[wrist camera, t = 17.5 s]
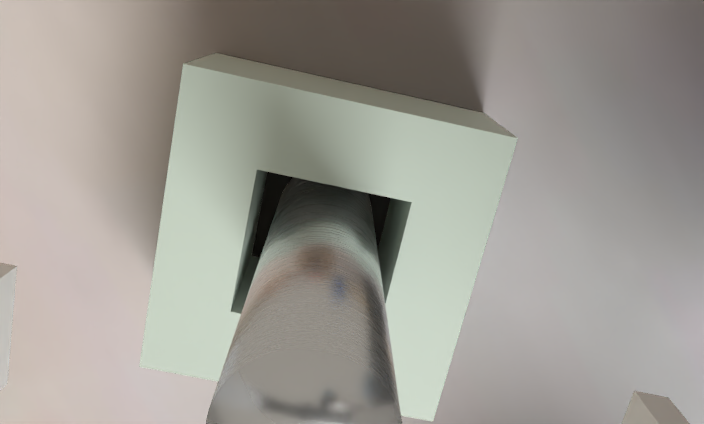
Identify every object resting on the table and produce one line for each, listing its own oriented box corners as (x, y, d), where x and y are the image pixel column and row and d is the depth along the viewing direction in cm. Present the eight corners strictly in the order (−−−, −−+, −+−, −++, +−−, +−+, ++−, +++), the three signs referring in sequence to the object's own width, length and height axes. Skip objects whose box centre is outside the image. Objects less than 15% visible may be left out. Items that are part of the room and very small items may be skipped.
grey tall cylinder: (381, 177, 25) (424, 369, 12) (360, 263, 26) (377, 532, 13) (287, 157, 25) (222, 331, 11) (270, 245, 26) (191, 499, 12)
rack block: (483, 113, 24) (517, 138, 20) (417, 349, 27) (433, 421, 22) (215, 52, 24) (183, 64, 19) (176, 302, 26) (139, 366, 22)
